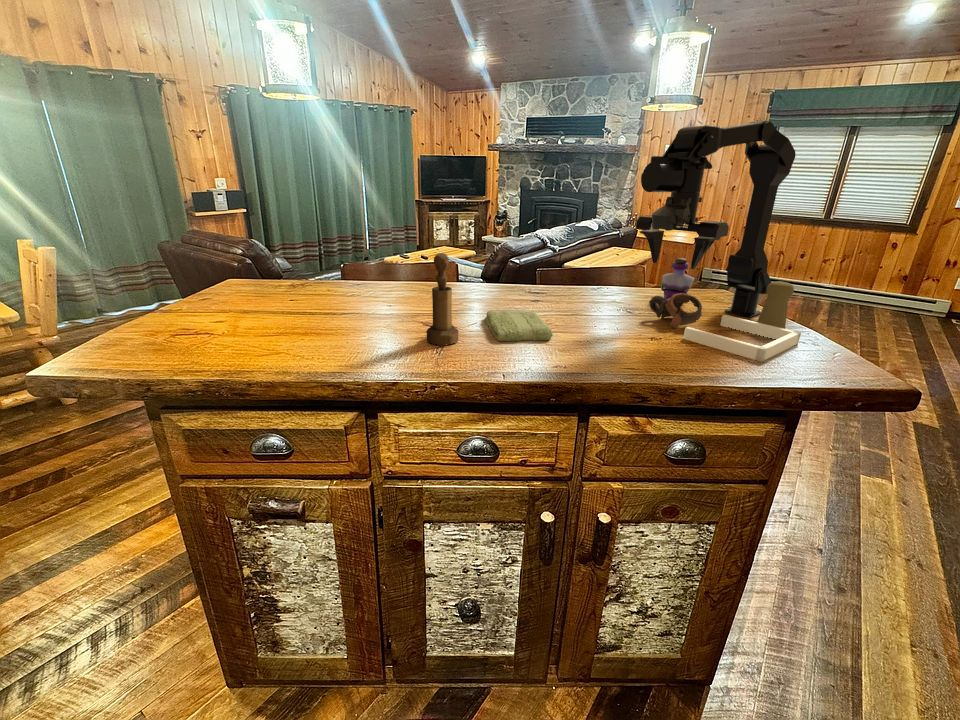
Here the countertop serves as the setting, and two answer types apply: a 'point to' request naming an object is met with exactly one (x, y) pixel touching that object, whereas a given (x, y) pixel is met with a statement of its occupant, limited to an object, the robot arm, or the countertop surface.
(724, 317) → the cream bay
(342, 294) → the countertop surface
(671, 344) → the countertop surface
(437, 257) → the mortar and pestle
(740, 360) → the countertop surface
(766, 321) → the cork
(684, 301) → the brown looped piece
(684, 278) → the potion bottle
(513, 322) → the washcloth
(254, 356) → the countertop surface
